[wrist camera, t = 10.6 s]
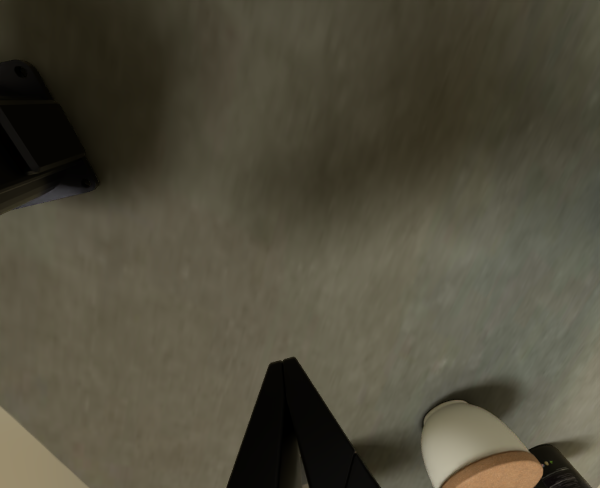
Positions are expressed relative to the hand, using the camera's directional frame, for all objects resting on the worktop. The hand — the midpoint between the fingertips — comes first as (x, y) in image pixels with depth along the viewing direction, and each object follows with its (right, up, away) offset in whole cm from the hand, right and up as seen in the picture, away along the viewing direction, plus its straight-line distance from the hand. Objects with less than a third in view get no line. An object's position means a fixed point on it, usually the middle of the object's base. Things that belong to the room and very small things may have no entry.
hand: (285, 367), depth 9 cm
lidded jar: (+19, -17, +26) cm, 37 cm away
